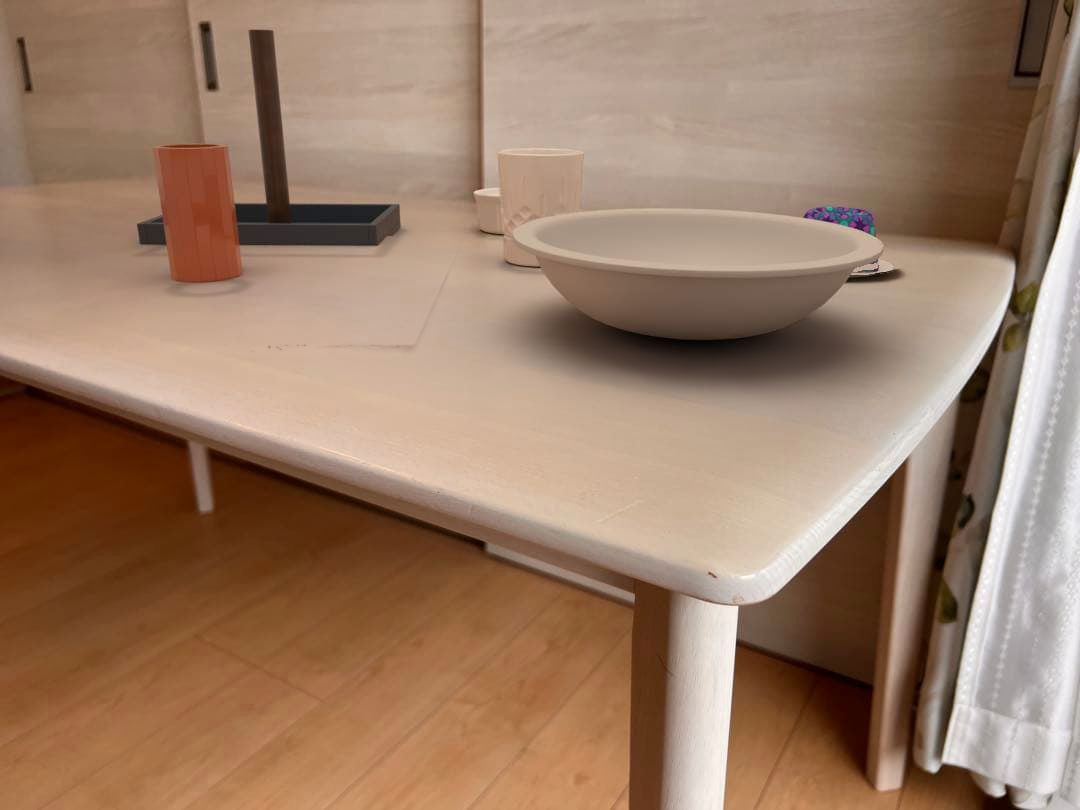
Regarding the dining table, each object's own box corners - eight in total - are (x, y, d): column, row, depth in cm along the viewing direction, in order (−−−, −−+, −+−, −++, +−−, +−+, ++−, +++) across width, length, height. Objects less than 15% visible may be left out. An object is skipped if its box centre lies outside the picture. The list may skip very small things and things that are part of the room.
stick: (266, 233, 92) (245, 29, 85) (273, 229, 94) (252, 30, 87) (289, 233, 92) (269, 29, 85) (294, 229, 94) (276, 30, 87)
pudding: (741, 259, 83) (746, 204, 81) (846, 253, 86) (853, 200, 84) (815, 285, 72) (823, 222, 70) (932, 277, 76) (942, 217, 74)
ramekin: (458, 228, 99) (457, 190, 97) (516, 221, 104) (516, 184, 103) (509, 238, 93) (509, 198, 91) (567, 230, 98) (568, 191, 97)
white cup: (484, 264, 80) (483, 152, 76) (518, 250, 87) (517, 147, 83) (564, 271, 77) (566, 156, 73) (592, 256, 84) (595, 150, 80)
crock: (161, 289, 70) (140, 148, 66) (187, 274, 75) (169, 143, 71) (230, 289, 70) (213, 148, 66) (251, 274, 75) (237, 143, 71)
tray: (140, 250, 85) (136, 223, 84) (198, 225, 100) (195, 202, 99) (377, 251, 86) (376, 225, 85) (400, 226, 100) (399, 204, 99)
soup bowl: (663, 415, 44) (670, 288, 42) (452, 313, 63) (449, 222, 61) (948, 345, 56) (967, 244, 53) (699, 277, 75) (704, 200, 72)
